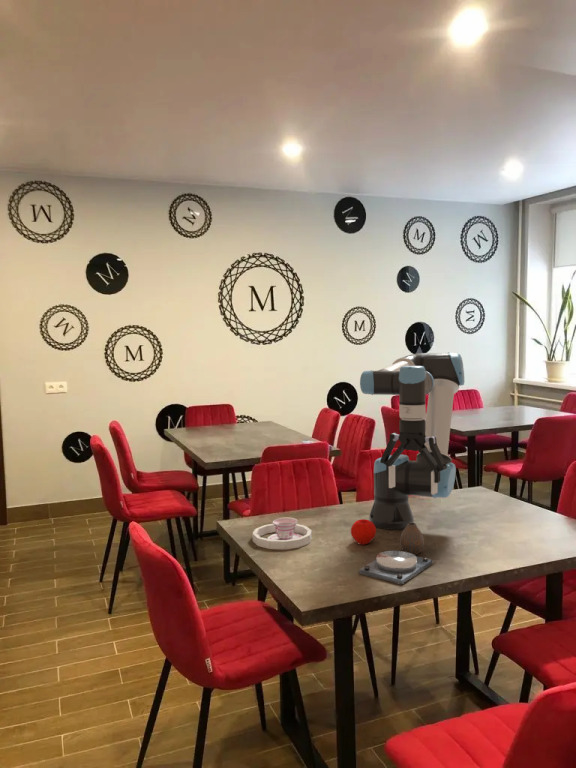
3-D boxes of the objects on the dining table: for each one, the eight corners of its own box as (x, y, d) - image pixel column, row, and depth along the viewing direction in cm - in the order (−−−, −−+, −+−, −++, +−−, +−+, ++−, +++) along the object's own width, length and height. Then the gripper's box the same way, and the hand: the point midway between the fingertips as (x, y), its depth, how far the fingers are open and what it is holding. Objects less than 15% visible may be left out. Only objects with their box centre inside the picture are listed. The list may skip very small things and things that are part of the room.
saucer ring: (241, 541, 194) (241, 534, 194) (278, 527, 209) (278, 519, 209) (286, 553, 183) (286, 545, 183) (322, 537, 197) (322, 529, 197)
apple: (380, 546, 188) (379, 522, 187) (355, 548, 186) (354, 524, 186) (372, 538, 196) (372, 515, 195) (348, 540, 194) (347, 517, 194)
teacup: (281, 532, 204) (281, 513, 204) (311, 538, 197) (311, 519, 197) (259, 542, 194) (259, 523, 194) (290, 549, 187) (290, 529, 187)
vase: (408, 547, 187) (408, 518, 186) (428, 552, 182) (428, 523, 181) (395, 552, 182) (395, 524, 181) (415, 558, 177) (415, 528, 176)
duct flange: (359, 573, 166) (359, 562, 166) (391, 554, 180) (391, 544, 180) (402, 584, 158) (402, 572, 158) (432, 564, 172) (432, 552, 172)
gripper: (368, 417, 184) (369, 487, 185) (447, 423, 168) (447, 499, 170) (381, 414, 190) (381, 482, 191) (458, 420, 174) (458, 493, 176)
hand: (412, 490), depth 180 cm, fingers open, 13 cm apart
